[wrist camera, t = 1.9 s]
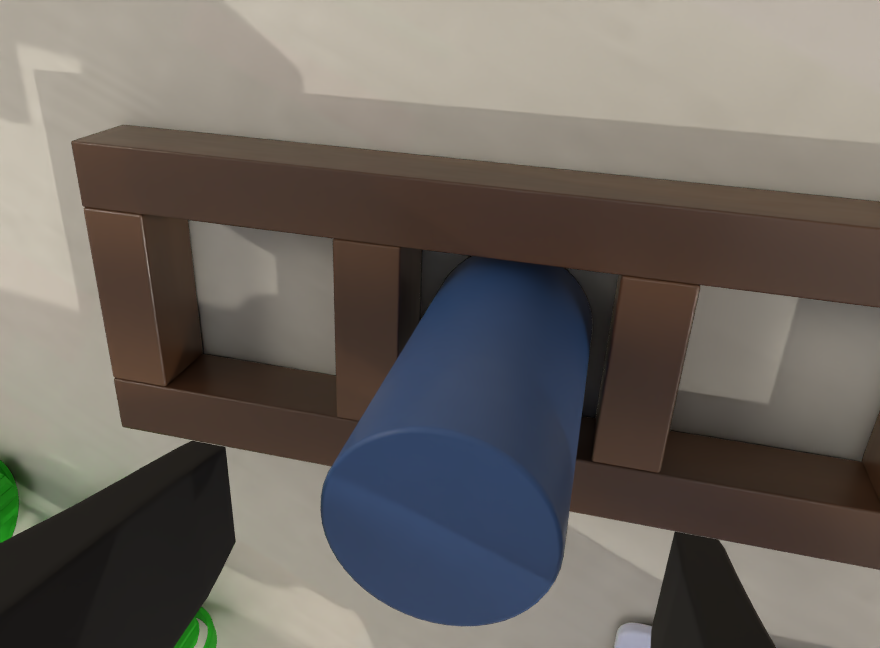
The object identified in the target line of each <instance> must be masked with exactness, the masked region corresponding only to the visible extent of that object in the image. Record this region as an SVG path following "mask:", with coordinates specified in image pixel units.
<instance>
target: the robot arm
mask: <svg viewBox="0 0 880 648" xmlns="http://www.w3.org/2000/svg"><path fill="white" fill-rule="evenodd" d="M234 544H235V532H234V523H233V514H232V504H231V495H230V485H229V476H228V467H227V457H226V448H225V447H223V446H217V445H212V444H207V443H201V442H196V441H191V442H189V443H187V444H185V445H183V446H181V447H179V448H177V449H175V450H173V451H171V452H169V453H167V454H166V455H164V456H162V457H160V458H158V459H156V460H155V461H153V462H151V463H149V464H148V465H146V466H144V467H142V468H140V469H139V470H137V471H135V472H133V473H132V474H130V475H128V476H126V477H125V478H123V479H121V480H119V481H117V482H116V483H114V484H112V485H110V486H108V487H107V488H105V489H103V490H101V491H99V492H98V493H96V494H94V495H92V496H90V497H89V498H87V499H85V500H83V501H81V502H80V503H78V504H76V505H74V506H72V507H70V508H68V509H66V510H64V511H62V512H61V513H59V514H57V515H55V516H53V517H51V518H49V519H47V520H45V521H43V522H41V523H39V524H37V525H35V526H33V527H31V528H29V529H27V530H25V531H23V532H21V533H19V534H17V535H15V536H13V537H11V538H9V539H7V540H5V541H3V542H1V543H0V648H174V646H175V645H176V643H177V642H178V640H179V639H180V638H181V636H182V635H183V633H184V632H185V630H186V629H187V627H188V626H189V624H190V623H191V621H192V620H193V618H194V617H195V615H196V614H197V612H198V611H199V609H200V608H201V606H202V605H203V603H204V602H205V600H206V599H207V597H208V595H209V593H210V591H211V590H212V588H213V586H214V584H215V582H216V580H217V578H218V576H219V574H220V573H221V571H222V568H223V566H224V564H225V562H226V560H227V558H228V556H229V554H230V552H231V550H232V548H233V546H234ZM614 648H776V647H775V645H774V643H773V641H772V640H771V638H770V636H769V635H768V633H767V631H766V629H765V627H764V626H763V624H762V622H761V620H760V618H759V616H758V615H757V613H756V611H755V609H754V607H753V605H752V603H751V601H750V599H749V597H748V596H747V594H746V592H745V590H744V588H743V586H742V584H741V582H740V580H739V578H738V576H737V574H736V572H735V570H734V567H733V565H732V563H731V561H730V559H729V557H728V555H727V553H726V550H725V548H724V547H723V545H722V544H721V543H720V541H719V540H717V539H712V538H707V537H701V536H696V535H691V534H685V533H680V532H675V533H674V537H673V541H672V545H671V550H670V554H669V558H668V562H667V566H666V571H665V575H664V579H663V583H662V587H661V592H660V596H659V600H658V604H657V608H656V613H655V617H654V621H653V625H652V626H649V625H645V624H640V623H632V622H630V623H626V624H623V625H622V626H620V627H619V629H618V631H617V634H616V639H615V644H614Z"/></svg>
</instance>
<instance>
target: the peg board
mask: <svg viewBox="0 0 880 648" xmlns="http://www.w3.org/2000/svg"><path fill="white" fill-rule="evenodd" d="M71 144H72V149H73V155H74V160H75V166H76V172H77V177H78V183H79V188H80V194H81V200H82V205H83V206H84V207H85V208H84V214H85V219H86V225H87V231H88V236H89V242H90V247H91V253H92V259H93V264H94V270H95V275H96V281H97V287H98V292H99V298H100V304H101V309H102V315H103V320H104V326H105V332H106V337H107V343H108V348H109V354H110V360H111V365H112V371H113V376H114V377H115V379H114V383H115V388H116V394H117V400H118V405H119V411H120V417H121V422H122V426H123V427H126V428H131V429H137V430H142V431H147V432H153V433H158V434H163V435H169V436H174V437H179V438H184V439H190V440H195V441H200V442H206V443H211V444H216V445H222V446H227V447H232V448H237V449H243V450H248V451H253V452H259V453H264V454H269V455H275V456H280V457H285V458H290V459H296V460H301V461H306V462H312V463H317V464H322V465H327V466H332V465H333V463H334V462H335V460H336V458H337V457H338V455H339V453H340V452H341V450H342V448H343V447H344V445H345V444H346V442H347V440H348V439H349V437H350V435H351V434H352V432H353V430H354V429H355V427H356V425H357V424H358V422H359V421H360V419H361V417H362V416H363V414H364V412H365V411H366V409H367V407H368V406H369V404H370V402H371V401H372V399H373V398H374V396H375V394H376V393H377V391H378V389H379V388H380V386H381V384H382V383H383V381H384V379H385V378H386V376H387V375H388V373H389V371H390V370H391V368H392V366H393V365H394V363H395V361H396V360H397V358H398V357H399V355H400V353H401V352H402V350H403V348H404V347H405V345H406V343H407V342H408V340H409V338H410V337H411V335H412V334H413V332H414V330H415V329H416V327H417V325H418V324H419V320H420V290H421V260H422V250H429V251H437V252H445V253H453V254H461V255H469V256H477V257H484V258H492V259H500V260H508V261H516V262H524V263H532V264H540V265H548V266H555V267H563V268H571V269H579V270H587V271H595V272H603V273H611V274H619V275H618V281H617V287H616V293H615V300H614V306H613V312H612V318H611V324H610V330H609V337H608V343H607V349H606V355H605V361H604V368H603V374H602V380H601V386H600V392H599V399H598V405H597V411H596V418H591V417H585V416H581V424H580V432H579V440H578V448H577V455H576V463H575V471H574V479H573V487H572V494H571V502H570V510H569V511H571V512H576V513H582V514H587V515H592V516H598V517H603V518H608V519H614V520H619V521H624V522H629V523H635V524H640V525H645V526H651V527H656V528H661V529H666V530H672V531H677V532H682V533H688V534H693V535H698V536H704V537H709V538H714V539H719V540H725V541H730V542H735V543H741V544H746V545H751V546H757V547H762V548H767V549H772V550H778V551H783V552H788V553H794V554H799V555H804V556H810V557H815V558H820V559H825V560H831V561H836V562H841V563H847V564H852V565H857V566H862V567H868V568H873V569H878V570H880V412H879V414H878V417H877V420H876V423H875V425H874V428H873V431H872V434H871V436H870V439H869V442H868V445H867V447H866V450H865V453H864V456H863V458H862V462H859V461H853V460H847V459H841V458H835V457H829V456H822V455H816V454H810V453H804V452H798V451H792V450H786V449H780V448H774V447H768V446H761V445H755V444H749V443H743V442H737V441H731V440H725V439H719V438H713V437H707V436H700V435H694V434H688V433H682V432H676V431H670V425H671V421H672V416H673V411H674V407H675V402H676V397H677V393H678V388H679V384H680V379H681V374H682V370H683V365H684V360H685V356H686V351H687V347H688V342H689V337H690V333H691V328H692V324H693V319H694V314H695V310H696V305H697V300H698V296H699V291H700V285H705V286H713V287H721V288H729V289H737V290H745V291H753V292H761V293H768V294H776V295H784V296H792V297H800V298H808V299H816V300H824V301H832V302H839V303H847V304H855V305H863V306H871V307H879V308H880V202H877V201H867V200H858V199H848V198H838V197H828V196H818V195H808V194H799V193H789V192H779V191H769V190H759V189H749V188H740V187H730V186H720V185H710V184H700V183H690V182H681V181H671V180H661V179H651V178H641V177H631V176H622V175H612V174H602V173H592V172H582V171H572V170H563V169H553V168H543V167H533V166H523V165H513V164H504V163H494V162H484V161H474V160H464V159H454V158H445V157H435V156H425V155H415V154H405V153H395V152H386V151H376V150H366V149H356V148H346V147H336V146H327V145H317V144H307V143H297V142H287V141H277V140H268V139H258V138H248V137H238V136H228V135H218V134H209V133H199V132H189V131H179V130H169V129H159V128H150V127H140V126H130V125H121V126H117V127H114V128H111V129H108V130H105V131H102V132H99V133H95V134H92V135H89V136H86V137H83V138H80V139H77V140H74V141H72V142H71ZM188 220H193V221H200V222H208V223H216V224H224V225H232V226H240V227H248V228H256V229H264V230H271V231H279V232H287V233H295V234H303V235H311V236H319V237H327V238H334V239H333V267H334V310H335V353H336V376H335V375H328V374H322V373H316V372H310V371H304V370H298V369H292V368H286V367H280V366H274V365H267V364H261V363H255V362H249V361H243V360H237V359H231V358H225V357H219V356H213V355H206V354H202V353H203V348H202V339H201V330H200V321H199V313H198V304H197V295H196V286H195V278H194V269H193V260H192V251H191V243H190V234H189V225H188Z"/></svg>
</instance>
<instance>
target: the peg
mask: <svg viewBox="0 0 880 648" xmlns="http://www.w3.org/2000/svg"><path fill="white" fill-rule="evenodd" d="M592 328H593V323H592V314H591V309H590V305H589V302H588V300H587V297H586V295H585V293H584V291H583V290H582V288H581V286H580V285H579V284H578V282H577V281H576V280H575V278H574V277H573V276H572V275H571V274H570V273H569V272H568V271H567V270H566V269H564V268H563V267H555V266H548V265H540V264H532V263H524V262H516V261H508V260H500V259H492V258H484V257H477V256H472V257H470V258H468V259H467V260H465V261H464V262H462V263H461V264H459V265H458V266H457V267H456V268H455V269H454V270H453V271H452V272H451V273H450V274H449V275H448V277H447V278H446V279H445V281H444V283H443V284H442V286H441V288H440V289H439V291H438V292H437V294H436V296H435V297H434V299H433V301H432V302H431V304H430V306H429V307H428V309H427V311H426V312H425V314H424V315H423V317H422V319H421V320H420V322H419V324H418V325H417V327H416V329H415V330H414V332H413V334H412V335H411V337H410V338H409V340H408V342H407V343H406V345H405V347H404V348H403V350H402V352H401V353H400V355H399V357H398V358H397V360H396V361H395V363H394V365H393V366H392V368H391V370H390V371H389V373H388V375H387V376H386V378H385V379H384V381H383V383H382V384H381V386H380V388H379V389H378V391H377V393H376V394H375V396H374V398H373V399H372V401H371V402H370V404H369V406H368V407H367V409H366V411H365V412H364V414H363V416H362V417H361V419H360V421H359V422H358V424H357V425H356V427H355V429H354V430H353V432H352V434H351V435H350V437H349V439H348V440H347V442H346V444H345V445H344V447H343V448H342V450H341V452H340V453H339V455H338V457H337V458H336V460H335V462H334V463H333V465H332V467H331V468H330V470H329V471H328V474H327V476H326V479H325V481H324V484H323V489H322V494H321V518H322V525H323V528H324V532H325V536H326V538H327V540H328V543H329V545H330V548H331V549H332V551H333V553H334V555H335V556H336V558H337V560H338V561H339V562H340V564H341V565H342V566H343V568H344V569H345V570H346V572H347V573H348V574H349V575H350V576H351V577H352V578H353V579H354V580H355V581H356V582H357V583H358V584H359V585H360V586H361V587H362V588H364V589H365V590H366V591H367V592H369V593H370V594H371V595H373V596H374V597H375V598H377V599H378V600H380V601H382V602H383V603H385V604H387V605H388V606H390V607H392V608H394V609H396V610H398V611H400V612H402V613H404V614H407V615H410V616H412V617H415V618H418V619H421V620H425V621H429V622H432V623H438V624H444V625H452V626H480V625H488V624H493V623H497V622H501V621H505V620H507V619H510V618H512V617H515V616H517V615H519V614H521V613H523V612H524V611H526V610H528V609H529V608H531V607H532V606H533V605H534V604H536V603H537V602H538V601H539V600H540V599H541V598H542V597H543V596H544V595H545V594H546V593H547V592H548V591H549V589H550V588H551V586H552V585H553V583H554V582H555V580H556V578H557V576H558V573H559V571H560V569H561V565H562V561H563V557H564V549H565V541H566V533H567V526H568V518H569V510H570V502H571V494H572V487H573V479H574V471H575V463H576V455H577V448H578V440H579V432H580V424H581V416H582V409H583V401H584V393H585V385H586V377H587V370H588V362H589V354H590V346H591V338H592Z"/></svg>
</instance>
